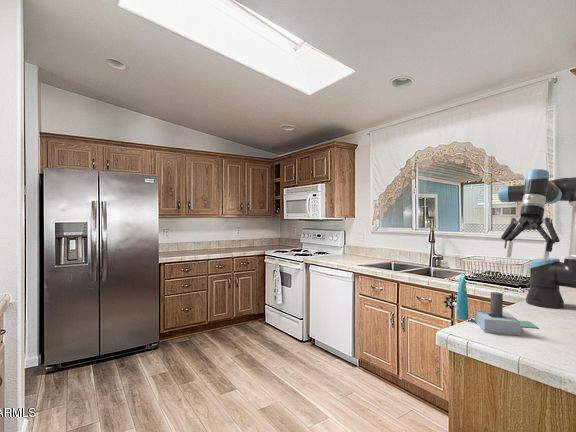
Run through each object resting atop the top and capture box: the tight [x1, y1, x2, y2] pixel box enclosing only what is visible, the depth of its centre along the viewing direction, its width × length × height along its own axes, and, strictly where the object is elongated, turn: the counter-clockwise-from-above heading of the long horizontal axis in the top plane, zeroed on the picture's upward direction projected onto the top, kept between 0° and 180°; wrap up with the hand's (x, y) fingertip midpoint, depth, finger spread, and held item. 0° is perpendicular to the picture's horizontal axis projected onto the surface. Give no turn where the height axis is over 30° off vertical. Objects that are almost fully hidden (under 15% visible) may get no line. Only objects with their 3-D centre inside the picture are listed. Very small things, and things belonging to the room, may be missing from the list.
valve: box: [443, 294, 457, 310], centre depth 151 cm, size 7×7×12 cm
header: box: [474, 309, 521, 336], centre depth 129 cm, size 12×12×5 cm
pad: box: [519, 320, 539, 329], centre depth 134 cm, size 8×8×1 cm
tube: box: [455, 273, 470, 321], centre depth 141 cm, size 7×5×19 cm, turn 168°
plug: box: [490, 291, 504, 318], centre depth 129 cm, size 4×4×14 cm
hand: (525, 258), depth 128 cm, fingers open, 13 cm apart
